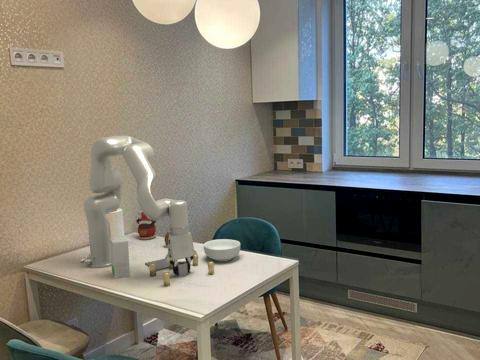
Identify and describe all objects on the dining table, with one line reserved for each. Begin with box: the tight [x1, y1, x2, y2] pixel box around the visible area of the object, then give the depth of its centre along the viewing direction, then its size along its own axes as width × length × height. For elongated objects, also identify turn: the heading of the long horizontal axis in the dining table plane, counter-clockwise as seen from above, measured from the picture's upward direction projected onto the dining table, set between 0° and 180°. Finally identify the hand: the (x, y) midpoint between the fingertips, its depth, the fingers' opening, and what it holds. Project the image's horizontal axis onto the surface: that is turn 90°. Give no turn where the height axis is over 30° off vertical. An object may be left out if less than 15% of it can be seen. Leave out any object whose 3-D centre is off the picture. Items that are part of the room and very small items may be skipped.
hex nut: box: [177, 260, 189, 278], centre depth 194 cm, size 4×5×5 cm
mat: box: [144, 258, 170, 272], centre depth 208 cm, size 12×12×1 cm
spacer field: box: [148, 253, 215, 287], centre depth 195 cm, size 22×19×5 cm
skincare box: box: [110, 235, 131, 279], centre depth 196 cm, size 8×7×16 cm
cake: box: [135, 210, 157, 240], centre depth 252 cm, size 11×9×18 cm
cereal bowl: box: [203, 238, 241, 262], centre depth 212 cm, size 17×17×7 cm
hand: (182, 272), depth 194 cm, fingers closed on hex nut, 4 cm apart
